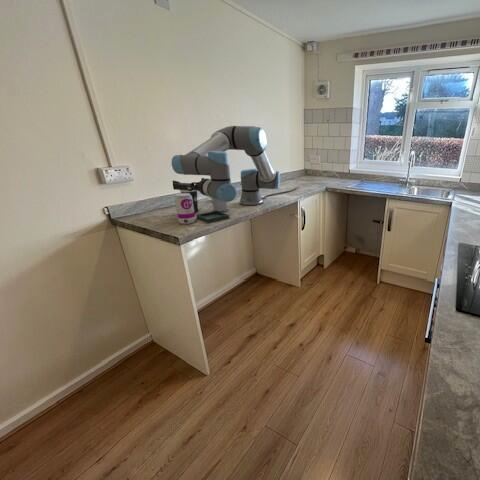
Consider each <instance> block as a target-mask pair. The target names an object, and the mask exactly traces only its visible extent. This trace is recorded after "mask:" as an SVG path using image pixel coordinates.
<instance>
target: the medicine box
mask: <svg viewBox="0 0 480 480" xmlns="http://www.w3.org/2000/svg"><path fill="white" fill-rule="evenodd" d="M211 198H212V197H211ZM211 201H212V208H213V211H220V212H228V202H225V201H220V200H218V199H214V198H212V199H211Z"/></svg>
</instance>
